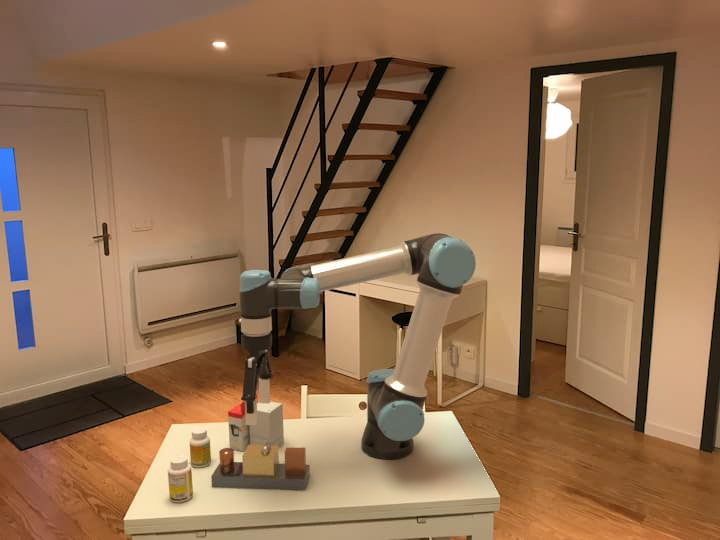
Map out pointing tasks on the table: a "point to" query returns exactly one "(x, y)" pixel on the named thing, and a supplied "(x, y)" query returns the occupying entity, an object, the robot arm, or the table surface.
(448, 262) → the robot arm
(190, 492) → the supplement bottle
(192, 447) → the supplement bottle
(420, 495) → the table surface
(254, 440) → the supplement box
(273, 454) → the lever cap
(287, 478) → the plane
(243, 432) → the ink box
